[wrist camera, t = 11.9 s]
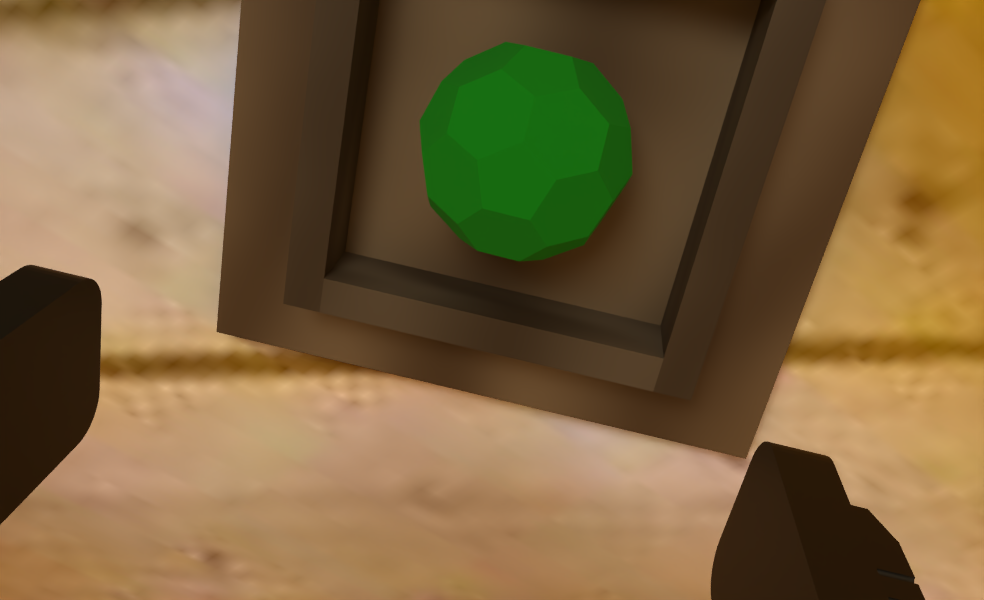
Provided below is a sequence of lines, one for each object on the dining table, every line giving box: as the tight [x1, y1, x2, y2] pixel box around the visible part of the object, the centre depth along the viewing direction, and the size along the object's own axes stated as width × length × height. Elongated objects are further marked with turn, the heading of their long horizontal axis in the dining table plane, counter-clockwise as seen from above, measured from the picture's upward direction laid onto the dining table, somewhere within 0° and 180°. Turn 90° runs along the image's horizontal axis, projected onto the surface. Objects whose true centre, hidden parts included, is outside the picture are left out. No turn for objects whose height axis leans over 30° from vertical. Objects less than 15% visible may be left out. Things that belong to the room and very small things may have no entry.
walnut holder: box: [217, 0, 920, 459], centre depth 23 cm, size 16×16×3 cm
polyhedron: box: [419, 42, 633, 261], centre depth 21 cm, size 5×5×5 cm
